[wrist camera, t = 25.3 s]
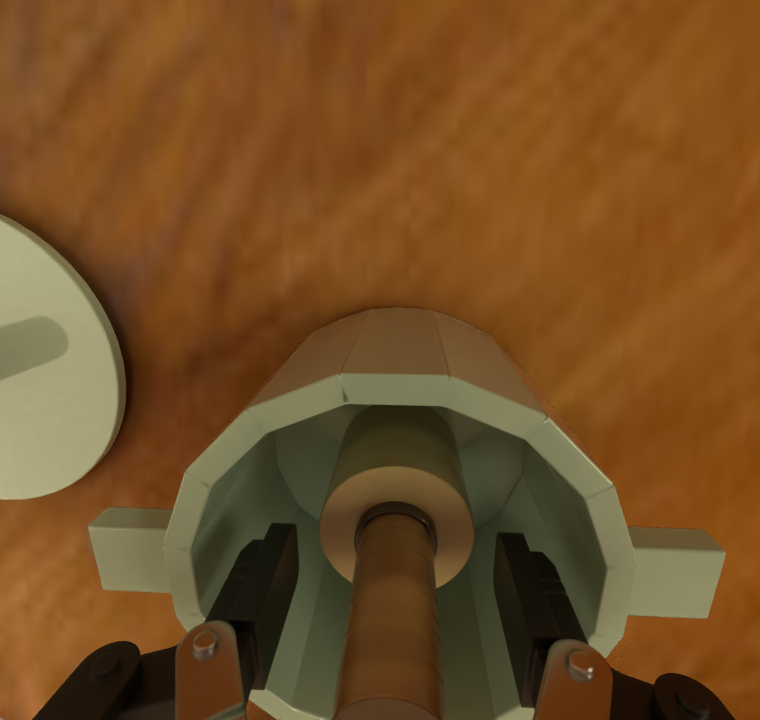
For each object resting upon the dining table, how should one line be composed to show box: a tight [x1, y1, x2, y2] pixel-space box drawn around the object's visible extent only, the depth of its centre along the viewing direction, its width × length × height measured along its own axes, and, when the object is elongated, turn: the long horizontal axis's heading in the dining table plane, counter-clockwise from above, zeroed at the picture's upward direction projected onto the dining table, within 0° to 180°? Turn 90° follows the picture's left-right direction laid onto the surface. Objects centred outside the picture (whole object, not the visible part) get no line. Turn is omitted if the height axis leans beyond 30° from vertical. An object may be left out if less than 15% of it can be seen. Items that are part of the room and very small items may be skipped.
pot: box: [88, 307, 726, 720], centre depth 16 cm, size 13×18×8 cm
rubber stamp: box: [319, 405, 475, 720], centre depth 14 cm, size 5×5×12 cm
